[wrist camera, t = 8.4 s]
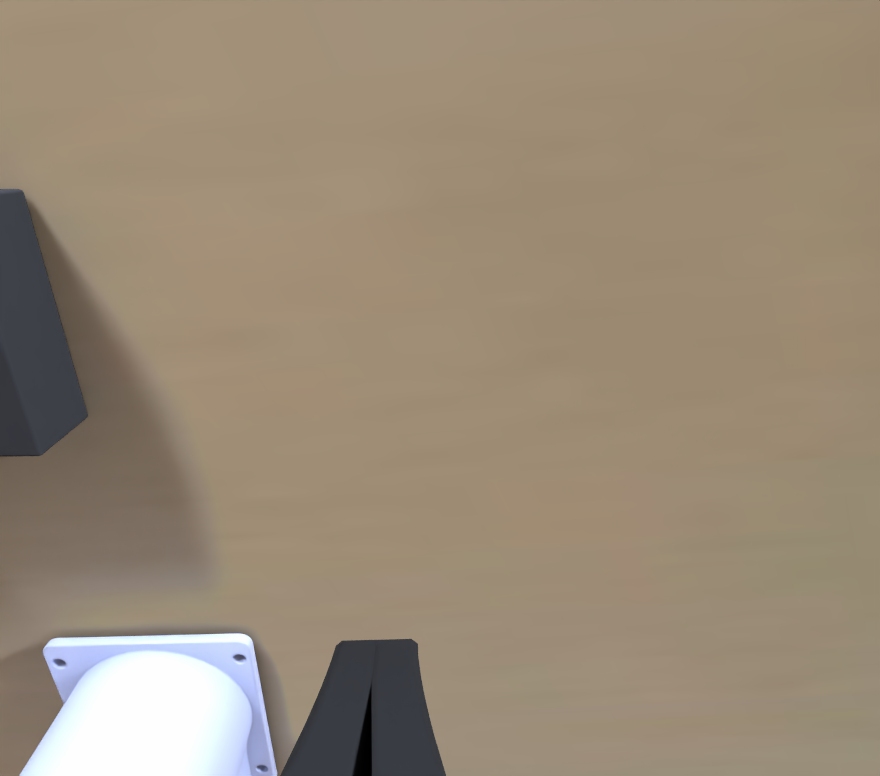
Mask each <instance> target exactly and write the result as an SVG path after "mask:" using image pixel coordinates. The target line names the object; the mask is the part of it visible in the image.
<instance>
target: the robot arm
mask: <svg viewBox="0 0 880 776" xmlns="http://www.w3.org/2000/svg"><path fill="white" fill-rule="evenodd" d="M239 654H240V655H239ZM43 655H44V657H45V660H46V662H47V664H48V667H49V669H50V672H51V674H52V677H53V679H54V682H55V684H56V686H57V689H58V691H59V694H60V696H61V699H62V701H63V703H64V706H63V707H62V709H61V710H60V712H59V714H58V715H57V717H56V718H55V720H54V721H53V723H52V725H51V726H50V728H49V729H48V731H47V733H46V734H45V736H44V737H43V739H42V740H41V742H40V744H39V745H38V747H37V748H36V750H35V751H34V753H33V755H32V756H31V758H30V759H29V761H28V763H27V764H26V766H25V767H24V769H23V770H22V772H21V774H20V775H19V776H277V770H276V765H275V759H274V754H273V749H272V743H271V738H270V732H269V727H268V722H267V716H266V711H265V705H264V700H263V695H262V689H261V684H260V678H259V673H258V668H257V662H256V657H255V651H254V646H253V642H252V640H251V638H250V637H248V636H247V635H245V634H239V633H237V634H196V635H156V636H116V637H75V638H55V639H52V640H50V641H49V642H48V643H47V645H46V646H45V647H44V649H43ZM280 776H446V774H445V771H444V767H443V764H442V761H441V757H440V754H439V750H438V747H437V744H436V740H435V737H434V733H433V729H432V726H431V722H430V718H429V714H428V709H427V705H426V700H425V696H424V691H423V686H422V681H421V674H420V667H419V659H418V644H417V643H416V642H415V641H413V640H412V639H395V640H356V641H341V642H340V643H339V644H338V645H336V648H335V651H334V654H333V657H332V660H331V663H330V666H329V668H328V671H327V674H326V677H325V679H324V682H323V684H322V687H321V689H320V691H319V694H318V696H317V699H316V701H315V703H314V706H313V708H312V710H311V712H310V715H309V717H308V719H307V721H306V724H305V726H304V728H303V730H302V732H301V734H300V736H299V738H298V740H297V742H296V744H295V747H294V749H293V751H292V753H291V755H290V757H289V759H288V761H287V763H286V765H285V767H284V769H283V771H282V773H281V775H280Z"/></svg>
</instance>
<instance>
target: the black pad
mask: <svg viewBox="0 0 880 776" xmlns="http://www.w3.org/2000/svg"><path fill="white" fill-rule="evenodd" d="M87 416H88V414H87V411H86V407H85V404H84V400H83V397H82V393H81V390H80V387H79V383H78V380H77V376H76V373H75V369H74V366H73V362H72V359H71V355H70V352H69V348H68V345H67V341H66V338H65V334H64V331H63V328H62V324H61V321H60V317H59V314H58V310H57V307H56V303H55V300H54V296H53V293H52V289H51V286H50V282H49V279H48V276H47V272H46V269H45V265H44V262H43V258H42V255H41V251H40V248H39V244H38V241H37V237H36V234H35V230H34V227H33V223H32V220H31V217H30V213H29V210H28V206H27V203H26V199H25V196H24V193H23V191H22V190H19V189H0V456H40V455H42V454H43V453H45V452H46V451H47V450H48V449H50V448H51V447H52V446H53V445H54V444H56V443H57V442H58V441H59V440H60V439H62V438H63V437H64V436H65V435H66V434H68V433H69V432H70V431H71V430H73V429H74V428H75V427H76V426H77V425H79V424H80V423H81V422H82V421H83V420H85V419H86V418H87Z"/></svg>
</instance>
